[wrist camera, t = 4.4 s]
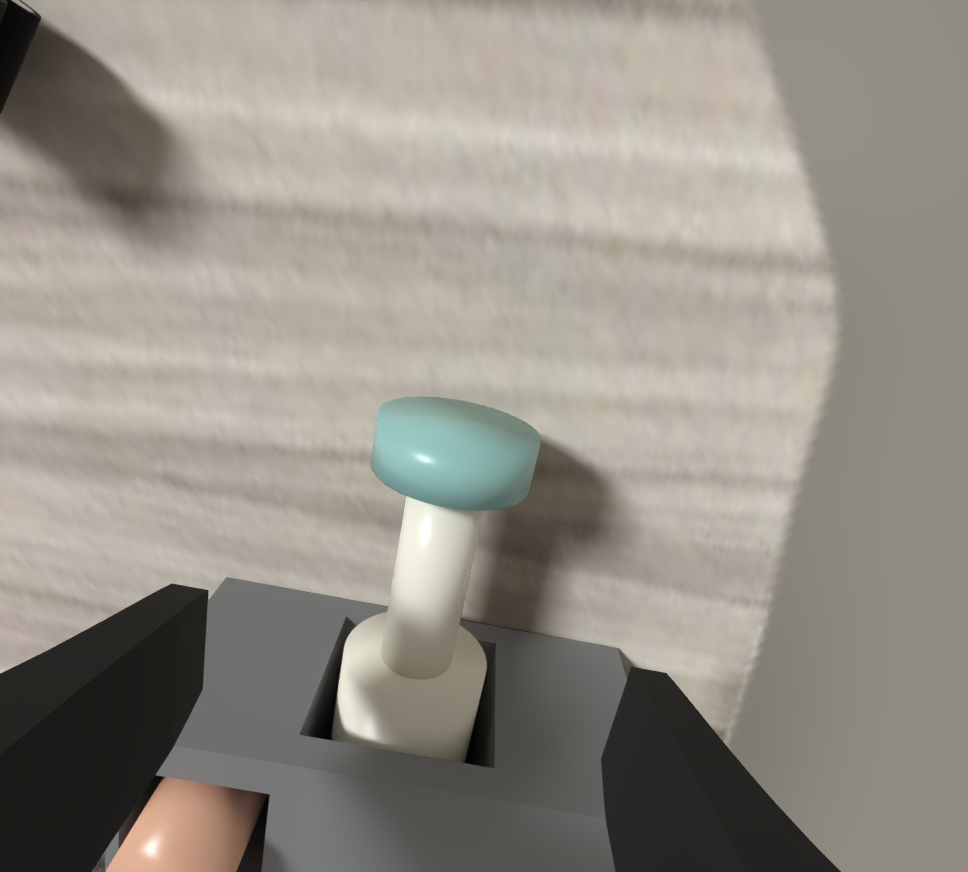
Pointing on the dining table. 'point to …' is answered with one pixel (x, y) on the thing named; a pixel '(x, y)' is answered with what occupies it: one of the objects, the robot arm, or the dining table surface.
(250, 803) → the plunger
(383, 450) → the push handle
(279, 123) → the dining table surface
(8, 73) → the logo
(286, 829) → the housing
